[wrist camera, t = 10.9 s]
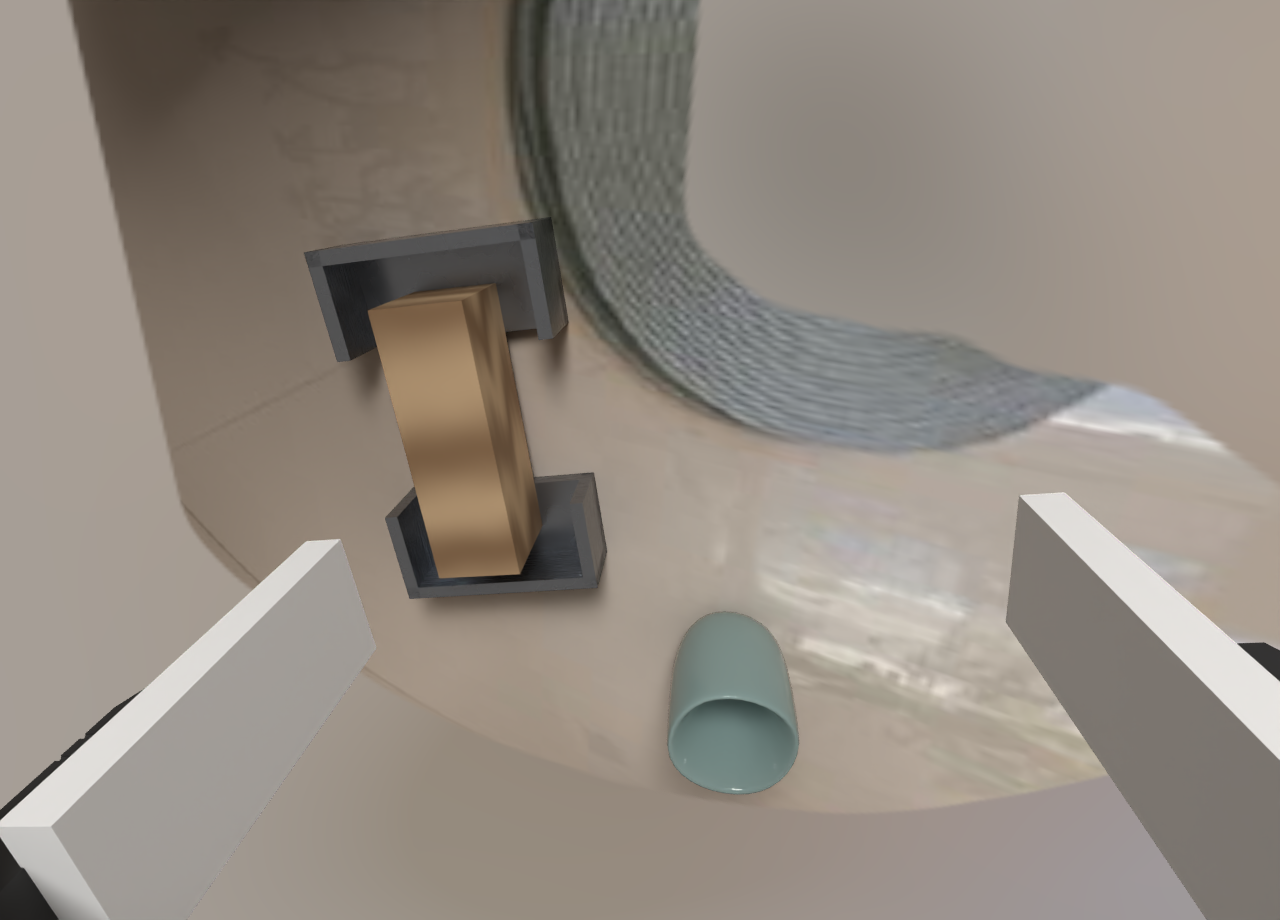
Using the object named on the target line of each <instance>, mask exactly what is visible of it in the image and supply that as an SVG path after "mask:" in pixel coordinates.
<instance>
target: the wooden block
mask: <svg viewBox="0 0 1280 920" xmlns="http://www.w3.org/2000/svg"><path fill="white" fill-rule="evenodd" d="M368 314H369V318H370V322H371V326H372V329H373V333H374V337H375V341H376V344H377V348H378V352H379V355H380V359H381V363H382V367H383V370H384V374H385V378H386V382H387V385H388V389H389V393H390V397H391V400H392V404H393V408H394V411H395V415H396V419H397V423H398V426H399V430H400V434H401V438H402V441H403V445H404V449H405V452H406V456H407V460H408V464H409V467H410V471H411V475H412V479H413V482H414V486H415V490H416V494H417V497H418V501H419V505H420V508H421V512H422V516H423V520H424V523H425V527H426V531H427V535H428V538H429V542H430V546H431V550H432V553H433V557H434V561H435V564H436V568H437V572H438V576H439V578H456V577H476V576H495V575H514V574H520V573H521V571H522V569H523V566H524V564H525V562H526V560H527V558H528V556H529V554H530V551H531V549H532V547H533V545H534V543H535V541H536V539H537V536H538V534H539V532H540V530H541V528H542V526H543V525H542V520H541V515H540V510H539V505H538V499H537V494H536V489H535V484H534V479H533V473H532V468H531V463H530V458H529V453H528V447H527V442H526V437H525V432H524V427H523V422H522V416H521V411H520V406H519V401H518V396H517V390H516V385H515V380H514V375H513V370H512V364H511V359H510V354H509V349H508V344H507V338H506V333H505V328H504V323H503V318H502V313H501V307H500V302H499V297H498V292H497V287H496V283H491V284H482V285H473V286H464V287H454V288H445V289H436V290H427V291H418V292H413V293H410V294H408V295H405V296H403V297H400V298H398V299H395V300H393V301H390V302H388V303H385V304H383V305H380V306H378V307H375V308H373V309H370V310H368Z"/></svg>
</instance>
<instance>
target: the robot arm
mask: <svg viewBox="0 0 1280 920" xmlns="http://www.w3.org/2000/svg"><path fill="white" fill-rule="evenodd" d="M1006 623H1007V624H1008V626H1009V627H1010V629H1011V630H1012V632H1013V633H1014V635H1015V636H1016V638H1017V639H1018V641H1019V642H1020V644H1021V645H1022V647H1023V648H1024V650H1025V651H1026V653H1027V654H1028V656H1029V657H1030V659H1031V660H1032V662H1033V663H1034V664H1035V666H1036V667H1037V669H1038V670H1039V672H1040V673H1041V675H1042V676H1043V678H1044V679H1045V681H1046V682H1047V684H1048V685H1049V687H1050V688H1051V690H1052V691H1053V693H1054V694H1055V696H1056V697H1057V699H1058V700H1059V702H1060V703H1061V705H1062V706H1063V707H1064V709H1065V710H1066V712H1067V713H1068V715H1069V716H1070V718H1071V719H1072V721H1073V722H1074V724H1075V725H1076V727H1077V728H1078V730H1079V731H1080V733H1081V734H1082V736H1083V737H1084V739H1085V740H1086V742H1087V743H1088V745H1089V746H1090V748H1091V749H1092V750H1093V752H1094V753H1095V755H1096V756H1097V758H1098V759H1099V761H1100V762H1101V764H1102V765H1103V767H1104V768H1105V770H1106V771H1107V773H1108V774H1109V776H1110V777H1111V779H1112V780H1113V782H1114V783H1115V785H1116V786H1117V788H1118V789H1119V791H1120V792H1121V793H1122V795H1123V796H1124V798H1125V799H1126V801H1127V802H1128V804H1129V805H1130V807H1131V808H1132V809H1133V811H1134V813H1135V814H1136V816H1137V817H1138V819H1139V820H1140V822H1141V823H1142V825H1143V826H1144V828H1145V829H1146V831H1147V832H1148V833H1149V835H1150V836H1151V838H1152V839H1153V841H1154V842H1155V844H1156V845H1157V847H1158V848H1159V850H1160V851H1161V853H1162V854H1163V856H1164V857H1165V859H1166V860H1167V862H1168V863H1169V865H1170V866H1171V868H1172V869H1173V871H1174V872H1175V874H1176V875H1177V877H1178V878H1179V879H1180V881H1181V882H1182V884H1183V885H1184V887H1185V888H1186V890H1187V891H1188V893H1189V894H1190V896H1191V897H1192V899H1193V900H1194V902H1195V903H1196V905H1197V906H1198V908H1199V909H1200V911H1201V912H1202V914H1203V915H1204V917H1205V918H1206V919H1207V920H1280V650H1278V649H1276V648H1274V647H1272V646H1270V645H1268V644H1266V643H1238V644H1236V643H1235V642H1234V641H1233V640H1232V639H1231V638H1230V637H1229V636H1227V635H1226V634H1225V633H1224V632H1223V631H1222V630H1221V629H1219V628H1218V627H1217V626H1216V625H1215V624H1214V623H1213V622H1211V621H1210V620H1209V619H1208V618H1207V617H1206V616H1205V615H1203V614H1202V613H1201V612H1200V611H1199V610H1198V609H1197V608H1196V607H1194V606H1193V605H1192V604H1191V603H1190V602H1189V601H1188V600H1186V599H1185V598H1184V597H1183V596H1182V595H1181V594H1180V593H1178V592H1177V591H1176V590H1175V589H1174V588H1173V587H1172V586H1171V585H1169V584H1168V583H1167V582H1166V581H1165V580H1164V579H1163V578H1161V577H1160V576H1159V575H1158V574H1157V573H1156V572H1155V571H1153V570H1152V569H1151V568H1150V567H1149V566H1148V565H1147V564H1145V563H1144V562H1143V561H1142V560H1141V559H1140V558H1139V557H1138V556H1136V555H1135V554H1134V553H1133V552H1132V551H1131V550H1130V549H1128V548H1127V547H1126V546H1125V545H1124V544H1123V543H1122V542H1120V541H1119V540H1118V539H1117V538H1116V537H1115V536H1114V535H1112V534H1111V533H1110V532H1109V531H1108V530H1107V529H1106V528H1105V527H1103V526H1102V525H1101V524H1100V523H1099V522H1098V521H1097V520H1095V519H1094V518H1093V517H1092V516H1091V515H1090V514H1089V513H1087V512H1086V511H1085V510H1084V509H1083V508H1082V507H1081V506H1079V505H1078V504H1077V503H1076V502H1075V501H1074V500H1073V499H1072V498H1070V497H1069V496H1068V495H1067V494H1066V493H1065V492H1064V493H1048V494H1033V495H1019V501H1018V511H1017V521H1016V530H1015V540H1014V549H1013V559H1012V568H1011V578H1010V587H1009V597H1008V606H1007V616H1006ZM375 650H376V645H375V642H374V639H373V636H372V633H371V630H370V627H369V624H368V621H367V618H366V615H365V612H364V609H363V606H362V603H361V600H360V596H359V593H358V590H357V587H356V584H355V581H354V578H353V575H352V572H351V569H350V566H349V563H348V560H347V557H346V554H345V551H344V548H343V545H342V542H341V539H334V540H318V541H306V542H305V543H304V544H303V545H302V546H300V547H299V548H298V549H297V550H296V551H295V552H294V553H293V554H292V555H291V556H289V557H288V558H287V559H286V560H285V561H284V562H283V563H282V564H281V565H280V566H279V567H277V568H276V569H275V570H274V571H273V572H272V573H271V574H270V575H269V576H268V577H266V578H265V579H264V580H263V581H262V582H261V583H260V584H259V585H258V586H257V587H256V588H254V589H253V590H252V591H251V592H250V593H249V594H248V595H247V596H246V597H245V598H243V599H242V600H241V601H240V602H239V603H238V604H237V605H236V606H235V607H234V608H233V609H231V610H230V611H229V612H228V613H227V614H226V615H225V616H224V617H223V618H222V619H221V620H219V621H218V622H217V623H216V624H215V625H214V626H213V627H212V628H211V629H209V630H208V631H207V633H205V634H204V635H203V636H202V637H201V638H200V639H199V640H198V641H196V642H195V643H194V644H193V645H192V646H191V647H190V648H189V649H188V650H186V651H185V652H184V653H183V654H182V655H181V656H180V657H179V658H178V659H177V660H176V661H174V662H173V663H172V664H171V665H170V666H169V667H168V668H167V669H166V670H165V671H164V672H162V673H161V674H160V675H159V676H158V677H157V678H156V679H155V680H154V681H153V682H152V683H150V684H149V685H148V686H147V687H146V688H145V689H143V690H141V691H140V692H139V693H137V694H135V695H133V696H132V697H130V698H129V699H127V700H126V701H124V702H123V703H121V704H119V705H118V706H116V707H115V708H113V709H112V710H111V711H110V712H109V713H108V714H107V715H106V716H104V717H103V718H102V719H101V720H100V721H99V722H98V723H97V724H96V725H95V726H93V727H92V728H91V729H90V730H89V731H88V732H87V733H86V736H85V738H84V739H79V740H78V741H77V742H75V744H74V745H72V746H71V747H70V748H69V749H68V750H67V751H66V752H64V753H63V754H62V755H61V760H60V761H54V762H53V763H52V764H51V765H50V766H49V767H48V768H46V769H45V770H44V771H43V772H42V773H41V774H40V775H39V776H38V777H36V778H35V779H34V780H33V781H32V782H31V783H30V784H29V785H28V786H26V787H25V788H24V789H23V790H22V791H21V792H20V793H19V794H18V795H16V796H15V797H14V798H13V799H12V800H11V801H10V802H9V803H7V805H5V806H4V807H3V808H2V809H1V810H0V920H187V919H188V917H189V916H190V914H191V913H192V912H193V910H194V909H195V907H196V906H197V904H198V903H199V902H200V900H201V899H202V897H203V896H204V894H205V893H206V892H207V890H208V889H209V887H210V886H211V884H212V883H213V882H214V880H215V879H216V877H217V876H218V874H219V873H220V872H221V870H222V869H223V867H224V866H225V864H226V863H227V862H228V860H229V858H230V857H231V856H232V854H233V853H234V852H235V850H236V849H237V847H238V846H239V844H240V843H241V841H242V840H243V839H244V837H245V836H246V834H247V833H248V831H249V830H250V829H251V827H252V826H253V824H254V823H255V821H256V820H257V818H258V817H259V816H260V814H261V813H262V811H263V810H264V809H265V807H266V806H267V804H268V803H269V801H270V799H272V797H273V796H274V794H275V793H276V791H277V790H278V788H279V787H280V786H281V784H282V783H283V781H284V780H285V778H286V777H287V775H288V774H289V773H290V771H291V770H292V768H293V767H294V766H295V764H296V763H297V761H298V760H299V758H300V757H301V755H302V754H303V752H304V751H305V750H306V748H307V747H308V745H309V744H310V743H311V741H312V740H313V738H314V737H315V736H316V734H317V732H318V731H319V730H320V728H321V727H322V725H323V724H324V722H325V721H326V720H327V718H328V717H329V715H330V714H331V712H332V711H333V710H334V708H335V707H336V705H337V704H338V703H339V701H340V700H341V698H342V697H343V695H344V694H345V692H346V691H347V690H348V688H349V687H350V685H351V684H352V682H353V681H354V679H355V678H356V677H357V675H358V674H359V673H360V671H361V670H362V668H363V667H364V665H365V664H366V663H367V661H368V660H369V658H370V657H371V655H372V654H373V652H374V651H375Z"/></svg>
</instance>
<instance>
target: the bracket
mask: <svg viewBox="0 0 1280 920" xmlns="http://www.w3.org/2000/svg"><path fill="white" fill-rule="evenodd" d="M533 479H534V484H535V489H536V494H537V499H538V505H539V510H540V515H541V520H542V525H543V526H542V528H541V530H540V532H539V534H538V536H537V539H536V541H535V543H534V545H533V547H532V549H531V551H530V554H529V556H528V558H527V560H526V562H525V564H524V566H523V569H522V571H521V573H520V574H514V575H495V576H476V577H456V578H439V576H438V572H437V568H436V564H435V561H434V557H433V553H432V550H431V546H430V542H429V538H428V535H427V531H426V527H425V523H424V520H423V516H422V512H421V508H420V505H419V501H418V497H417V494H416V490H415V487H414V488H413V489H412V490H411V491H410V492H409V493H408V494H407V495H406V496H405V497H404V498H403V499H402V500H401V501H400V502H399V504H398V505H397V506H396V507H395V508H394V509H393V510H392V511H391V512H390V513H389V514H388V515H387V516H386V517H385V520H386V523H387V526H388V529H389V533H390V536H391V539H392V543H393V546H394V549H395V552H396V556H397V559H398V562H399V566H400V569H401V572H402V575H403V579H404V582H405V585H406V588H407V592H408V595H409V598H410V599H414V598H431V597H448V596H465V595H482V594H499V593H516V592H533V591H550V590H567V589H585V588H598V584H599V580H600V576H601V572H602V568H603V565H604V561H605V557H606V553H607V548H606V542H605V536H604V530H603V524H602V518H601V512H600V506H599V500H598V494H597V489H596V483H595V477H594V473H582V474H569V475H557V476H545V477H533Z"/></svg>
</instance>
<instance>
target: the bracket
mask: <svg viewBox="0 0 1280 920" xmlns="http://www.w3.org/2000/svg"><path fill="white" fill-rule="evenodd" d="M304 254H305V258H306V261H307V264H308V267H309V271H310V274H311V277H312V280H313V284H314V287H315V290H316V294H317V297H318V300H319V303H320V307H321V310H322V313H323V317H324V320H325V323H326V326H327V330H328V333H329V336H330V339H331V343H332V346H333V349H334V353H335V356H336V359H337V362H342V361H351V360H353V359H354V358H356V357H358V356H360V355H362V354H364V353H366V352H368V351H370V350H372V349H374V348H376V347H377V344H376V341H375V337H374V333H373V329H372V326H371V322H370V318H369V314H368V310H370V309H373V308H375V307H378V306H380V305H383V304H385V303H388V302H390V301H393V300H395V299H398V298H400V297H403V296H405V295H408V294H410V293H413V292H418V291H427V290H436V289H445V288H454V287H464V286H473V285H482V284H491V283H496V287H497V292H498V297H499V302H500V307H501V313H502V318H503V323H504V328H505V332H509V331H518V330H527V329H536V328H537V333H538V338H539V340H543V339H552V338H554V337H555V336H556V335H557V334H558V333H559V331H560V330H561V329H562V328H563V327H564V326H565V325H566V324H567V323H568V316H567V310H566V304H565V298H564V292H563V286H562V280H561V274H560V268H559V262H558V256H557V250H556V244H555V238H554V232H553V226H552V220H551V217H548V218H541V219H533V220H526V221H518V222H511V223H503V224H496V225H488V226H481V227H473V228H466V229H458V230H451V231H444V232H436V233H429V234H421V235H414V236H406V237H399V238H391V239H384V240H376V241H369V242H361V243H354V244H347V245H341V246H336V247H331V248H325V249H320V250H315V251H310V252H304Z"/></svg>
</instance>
